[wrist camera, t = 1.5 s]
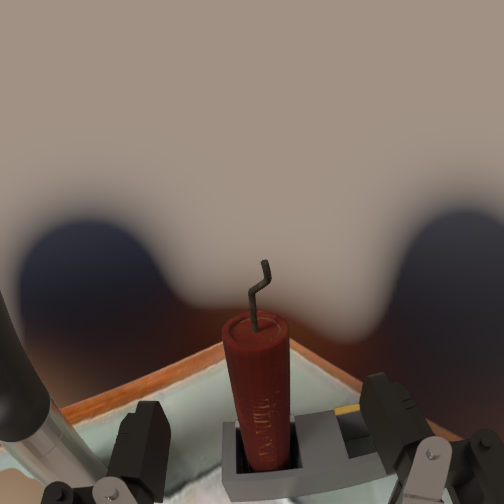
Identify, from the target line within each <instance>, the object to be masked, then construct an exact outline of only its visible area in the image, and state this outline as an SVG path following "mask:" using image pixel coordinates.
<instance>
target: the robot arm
mask: <svg viewBox="0 0 504 504" xmlns="http://www.w3.org/2000/svg"><path fill="white" fill-rule="evenodd" d="M359 406H360V412H361V415H362V417H363V419H364V422H365V424H366V426H367V429H368V431H369V433H370V436H371V438H372V440H373V443H374V445H375V447H376V450H377V452H378V454H379V457H380V459H381V462H382V464H383V466H384V469H385V471H386V474H387V475H390V474H393V473H395V472H396V474H397V476H398V479H397V482H396V484H395V487H394V489H393V492H392V494H391V497H390V499H389V502H388V504H444V501H442V494H443V490H444V488H447V490H448V492H449V495H450V497H451V500H452V502H453V504H504V444H503V443H502V441H501V439H500V438H499V436H498V435H497V433H495V432H494V431H492V430H490V429H481V430H479V431H477V432H476V433H475V434H474V435H473V436H472V438H471V439H467V440H461V441H454V442H448V441H447V440H446V439H444V438H442V437H438V436H436V435H435V434H434V433H433V431H432V430H431V428H430V426H429V425H428V423H427V421H426V420H425V418H424V416H423V414H422V413H421V411H420V410H419V408H418V407H417V405H416V403H415V401H414V400H413V399H412V396H411V395H410V393H409V392H408V390H407V388H405V387H404V386H403V385H401V384H400V383H399V382H397V381H395V382H392V383H391V382H390V381H389V379H388V377H387V376H386V374H385V373H383V372H381V373H377V374H374V375H370V376H366V377H365V378H364V381H363V386H362V391H361V396H360V401H359ZM170 439H171V429H170V424H169V422H168V420H167V418H166V415H165V413H164V411H163V409H162V407H161V405H160V403H159V401H139V402H138V405H137V408H136V412H135V413H128V414H127V415H126V417H125V418H124V419H123V420H122V422H121V424H120V428H119V431H118V435H117V438H116V443H115V445H114V449H113V452H112V456H111V460H110V464H109V467H108V469H107V468H106V467H105V465H104V464H103V463H102V462H101V461H100V460H99V459H98V457H97V456H96V455H95V454H94V453H93V452H92V450H91V449H90V448H89V447H88V446H87V444H86V443H85V442H84V441H83V439H82V438H81V437H80V436H79V434H78V433H77V432H76V430H75V429H74V428H73V427H72V425H71V424H70V422H69V421H68V420H67V418H66V417H65V416H64V414H63V413H62V411H61V410H60V409H59V407H58V406H57V404H56V403H55V401H54V400H53V399H52V397H51V395H50V394H49V392H48V391H47V389H46V388H45V386H44V385H43V383H42V381H41V380H40V378H39V376H38V375H37V373H36V371H35V369H34V367H33V366H32V364H31V362H30V360H29V358H28V357H27V355H26V353H25V351H24V349H23V347H22V345H21V343H20V340H19V338H18V336H17V334H16V331H15V329H14V327H13V324H12V321H11V319H10V316H9V313H8V311H7V308H6V305H5V302H4V299H3V297H2V294H1V291H0V444H1V445H2V446H3V447H4V448H5V449H6V451H7V452H9V453H10V454H11V456H12V457H13V458H14V459H15V460H16V461H18V462H19V463H20V464H21V465H22V466H23V467H24V468H25V469H26V470H27V471H28V472H29V473H30V474H31V475H32V476H34V477H35V478H36V479H37V480H38V481H39V482H40V483H42V484H43V485H44V486H45V487H46V488H45V490H44V494H43V497H42V501H41V504H154V502H157V503H163V496H164V487H165V478H166V470H167V462H168V454H169V447H170Z"/></svg>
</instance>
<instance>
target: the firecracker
mask: <svg viewBox="0 0 504 504" xmlns="http://www.w3.org/2000/svg"><path fill="white" fill-rule="evenodd" d="M261 265H262V269H263V273H264V279H263V280H262V281H261V282H259V283H258V284H256V285H255V286H253V287H252V288H250V289H249V291H248V296H249V306H250V312H245V313H242V314H239V315H237V316H235V317H233V318H232V319H231V320H229V321H228V322H227V323H226V324H225V325H224V327H223V329H222V333H221V334H222V339H223V345H224V350H225V356H226V361H227V367H228V372H229V377H230V382H231V387H232V392H233V397H234V402H235V407H236V412H237V417H238V421H239V426H240V431H241V435H242V440H243V444H244V449H245V453H246V458H247V462H248V466H249V470H250V473H263V472H273V471H282V470H289V463H290V345H289V325H288V323H287V321H286V320H285V319H284V318H282V317H281V316H279V315H278V314H275V313H272V312H267V311H257V310H256V299H255V293H256V292H258V291H260V290H261V289H263V288H264V287H265V286H267V285H268V284H270V282H271V279H272V278H271V271H270V267H269V263H268V260H262V262H261Z"/></svg>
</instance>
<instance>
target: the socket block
mask: <svg viewBox="0 0 504 504" xmlns="http://www.w3.org/2000/svg"><path fill="white" fill-rule="evenodd" d="M367 435H370V433H369V431H368V429H367V426H366V424H365V422H364V419H363V417H362V415H361V412H360V406H359V403H358V404H353V405H349V406H344V407H339V408H334V410H330V411H325V412H319V413H313V414H306V415H299V416H294V415H290V450H294V453H295V459H296V465H297V469H291V470H282V471H273V472H263V473H249V474H243V472H242V455H246V453H245V449H244V444H243V440H242V435H241V431H240V426H239V421H238V420H235V422H223V445H222V484H223V486H224V488H225V490H226V492H227V494H228V496H229V498H230V501H231V502H245V501H261V500H273V499H282V498H291V497H298V496H305V495H311V494H317V493H322V492H327V491H332V490H337V489H342V488H346V487H350V486H354V485H358V484H362V483H366V482H369V481H373V480H376V479H380V478H383V477H386V476H389V475H387V474H386V471H385V469H384V466H383V464H382V462H381V459H380V457H379V454H378V452H374V453H371V454H367V455H363V456H359V457H355V458H351V459H349V457H348V454H347V451H346V447H345V444H344V441H346V440H351V439H355V438H359V437H363V436H367ZM395 473H396V472H395ZM395 473H393V474H395ZM390 475H392V474H390Z"/></svg>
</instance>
